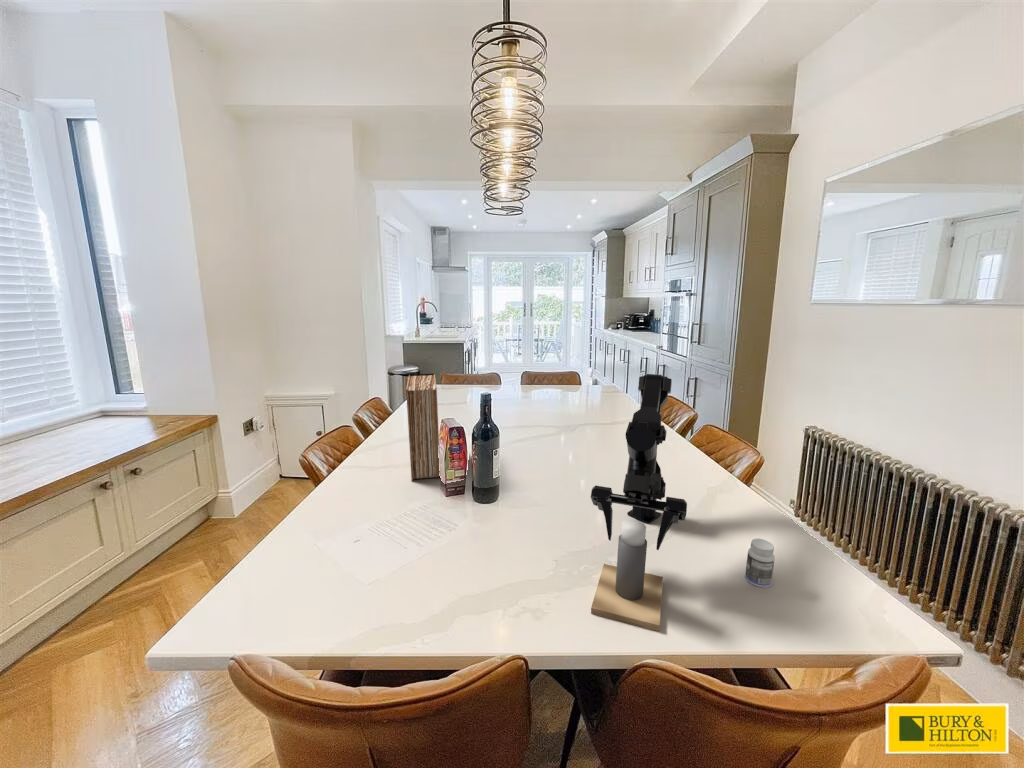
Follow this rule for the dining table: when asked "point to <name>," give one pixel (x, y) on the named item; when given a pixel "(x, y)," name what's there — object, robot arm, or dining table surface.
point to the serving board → (624, 610)
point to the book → (423, 425)
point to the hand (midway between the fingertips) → (633, 544)
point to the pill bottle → (760, 563)
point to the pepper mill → (631, 560)
